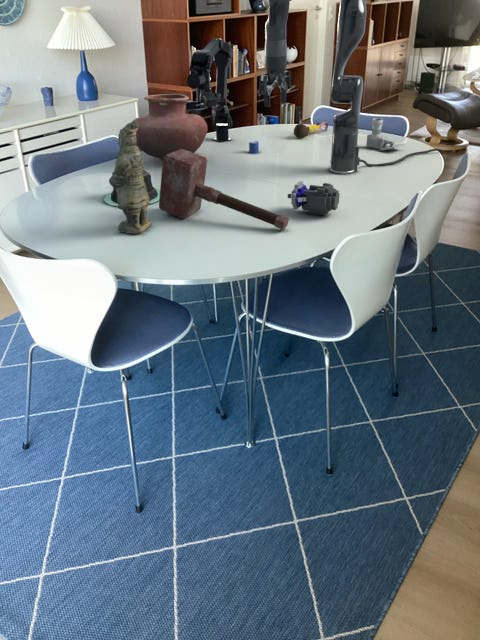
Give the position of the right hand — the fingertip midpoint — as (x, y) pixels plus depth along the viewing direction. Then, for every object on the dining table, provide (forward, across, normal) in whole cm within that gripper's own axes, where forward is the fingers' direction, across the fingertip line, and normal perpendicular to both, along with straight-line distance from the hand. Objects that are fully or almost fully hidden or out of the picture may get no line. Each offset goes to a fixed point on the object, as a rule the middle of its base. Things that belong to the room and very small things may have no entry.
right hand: (275, 104), depth 197 cm
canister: (+25, -18, -28) cm, 42 cm away
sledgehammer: (+23, +48, +22) cm, 58 cm away
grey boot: (+26, -57, +12) cm, 64 cm away
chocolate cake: (+24, +53, -16) cm, 60 cm away
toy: (+24, +26, +38) cm, 52 cm away
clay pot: (+25, +14, -45) cm, 53 cm away
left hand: (+14, -8, -46) cm, 49 cm away
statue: (+23, +71, +8) cm, 75 cm away
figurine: (+26, -60, -30) cm, 72 cm away
